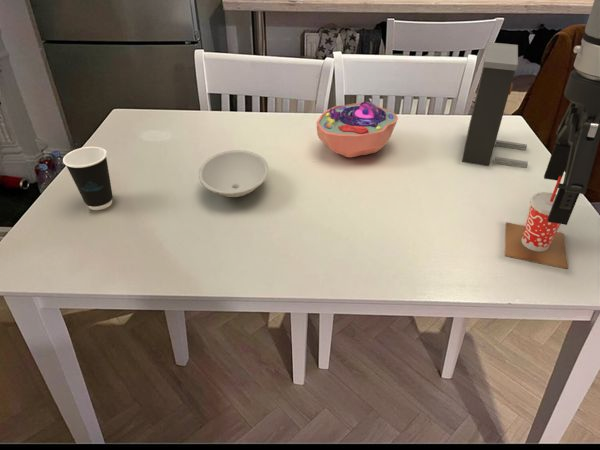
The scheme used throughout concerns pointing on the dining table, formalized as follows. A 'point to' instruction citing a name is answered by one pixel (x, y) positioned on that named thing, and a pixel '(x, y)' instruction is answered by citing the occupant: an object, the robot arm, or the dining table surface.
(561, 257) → the cork coaster
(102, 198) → the dixie cup
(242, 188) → the dish
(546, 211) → the beverage cup
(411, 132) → the dining table surface
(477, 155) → the coffee machine
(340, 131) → the cell model
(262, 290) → the dining table surface
